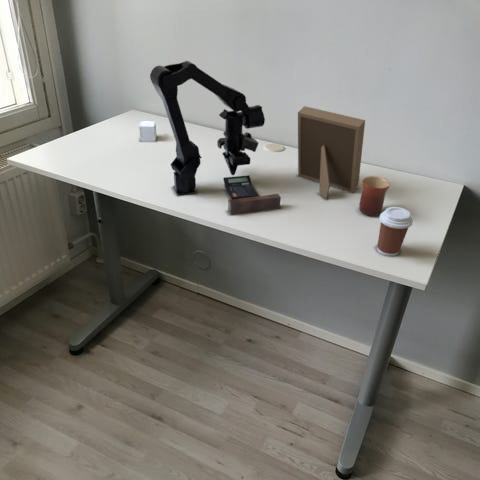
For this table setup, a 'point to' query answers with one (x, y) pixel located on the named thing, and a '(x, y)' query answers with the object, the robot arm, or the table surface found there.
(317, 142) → the photo frame
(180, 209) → the table surface
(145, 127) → the white cube
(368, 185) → the mug
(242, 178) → the calculator
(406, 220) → the coffee cup
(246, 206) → the rail
